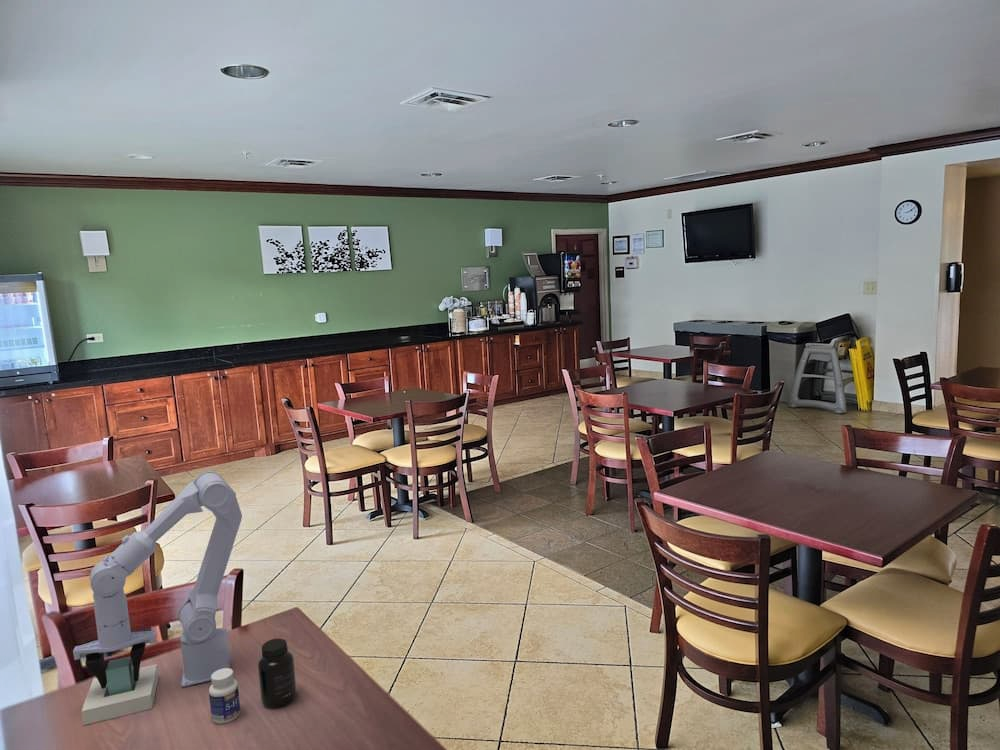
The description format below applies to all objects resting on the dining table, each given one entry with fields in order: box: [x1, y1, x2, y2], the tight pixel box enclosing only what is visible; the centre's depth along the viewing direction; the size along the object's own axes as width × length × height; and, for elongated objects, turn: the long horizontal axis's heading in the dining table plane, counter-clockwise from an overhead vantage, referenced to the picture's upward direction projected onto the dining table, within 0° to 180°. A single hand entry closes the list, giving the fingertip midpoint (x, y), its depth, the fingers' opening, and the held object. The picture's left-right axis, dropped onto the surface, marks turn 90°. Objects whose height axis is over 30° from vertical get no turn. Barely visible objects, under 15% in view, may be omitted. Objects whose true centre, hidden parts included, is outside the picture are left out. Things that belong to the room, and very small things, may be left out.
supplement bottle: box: [257, 637, 297, 709], centre depth 133 cm, size 7×7×12 cm
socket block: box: [80, 663, 160, 726], centre depth 136 cm, size 12×12×3 cm
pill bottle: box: [208, 667, 241, 725], centre depth 129 cm, size 5×5×9 cm
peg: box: [105, 655, 135, 696], centre depth 135 cm, size 4×4×8 cm
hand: (120, 682), depth 135 cm, fingers open, 5 cm apart
